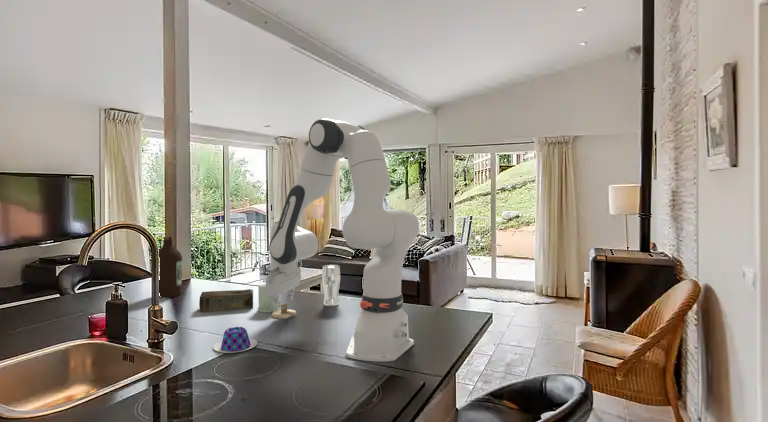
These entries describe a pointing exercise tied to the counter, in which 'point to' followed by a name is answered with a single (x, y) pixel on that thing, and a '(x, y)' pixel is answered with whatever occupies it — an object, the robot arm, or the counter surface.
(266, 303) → the canister
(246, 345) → the purple patterned hat
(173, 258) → the olive oil
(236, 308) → the beverage carton
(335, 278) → the beer glass
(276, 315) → the lid
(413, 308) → the counter surface
